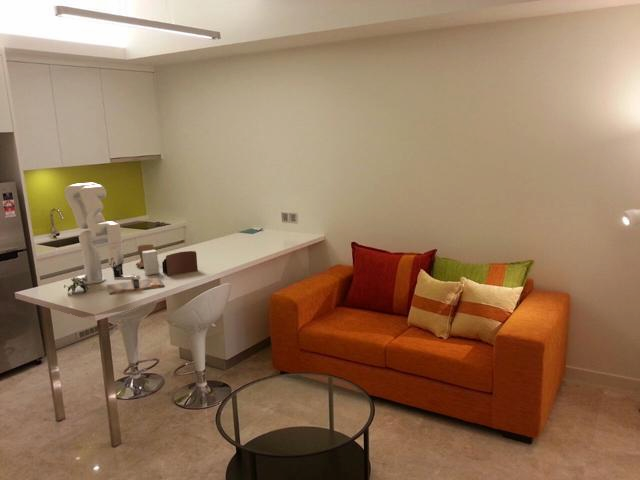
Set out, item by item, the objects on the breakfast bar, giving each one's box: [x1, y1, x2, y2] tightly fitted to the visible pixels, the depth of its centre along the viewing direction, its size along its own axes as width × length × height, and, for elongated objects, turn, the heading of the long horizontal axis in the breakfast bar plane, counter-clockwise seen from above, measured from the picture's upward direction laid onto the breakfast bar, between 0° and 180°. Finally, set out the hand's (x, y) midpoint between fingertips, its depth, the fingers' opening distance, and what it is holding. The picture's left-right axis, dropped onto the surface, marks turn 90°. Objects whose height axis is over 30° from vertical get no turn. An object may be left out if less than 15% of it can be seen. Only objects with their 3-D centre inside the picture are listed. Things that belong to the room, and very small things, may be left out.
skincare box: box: [142, 249, 160, 276], centre depth 345 cm, size 8×6×15 cm
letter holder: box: [161, 250, 199, 277], centre depth 346 cm, size 10×20×14 cm, turn 123°
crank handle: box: [113, 266, 141, 281], centre depth 311 cm, size 14×4×8 cm, turn 88°
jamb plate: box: [106, 273, 165, 296], centre depth 317 cm, size 30×18×6 cm, turn 115°
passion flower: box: [63, 276, 89, 295], centre depth 308 cm, size 11×11×12 cm
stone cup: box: [135, 243, 155, 269], centre depth 366 cm, size 15×12×15 cm
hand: (118, 275), depth 311 cm, fingers closed on crank handle, 3 cm apart
